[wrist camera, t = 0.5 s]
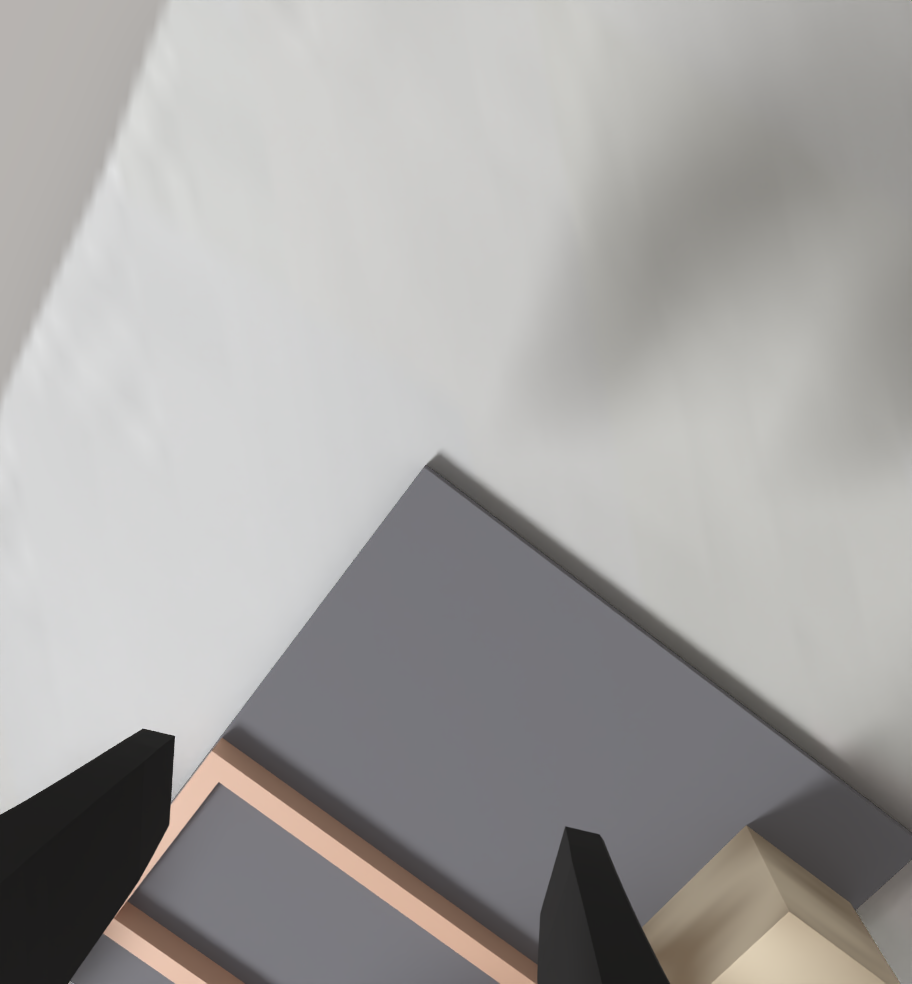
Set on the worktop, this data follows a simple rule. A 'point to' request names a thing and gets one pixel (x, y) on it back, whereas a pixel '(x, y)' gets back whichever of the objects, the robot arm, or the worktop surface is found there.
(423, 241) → the worktop surface
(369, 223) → the worktop surface
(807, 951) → the cream long block
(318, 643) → the rubber mat
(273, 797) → the terracotta frame
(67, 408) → the worktop surface
